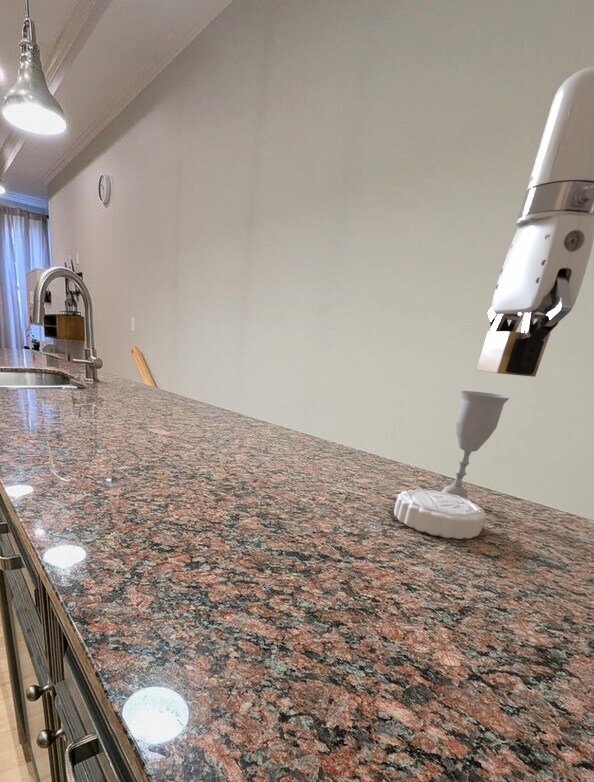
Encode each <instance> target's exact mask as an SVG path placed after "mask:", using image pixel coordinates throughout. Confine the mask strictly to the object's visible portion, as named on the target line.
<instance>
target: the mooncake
mask: <svg viewBox="0 0 594 782" xmlns="http://www.w3.org/2000/svg"><path fill="white" fill-rule="evenodd" d="M393 512H394V513H393V516H394V517H395V518H397V520H398V521H399V522H400V523H403V524H404V526H406V527H409V528H412V529H414V530H416V531H418V532H421V533H426V534H428V535H431V536H437V537H441V538H444V539H455V540H462V539H469V540H470V539H472V538H474V537H476V538H477V537H478V536H479V535H480V533H481V532H482V529H483V526H484V523H485V520H486V517H487V513H486V512H485V509H484V508H482V507H480V506H479V504H477V503H474V502H472V501H471V500H470V499H468V498H467V499H465V498H462V497H460V496H458V495H453V494H448V493H443V492H441V491H439V490H435V489H425V488H418V489H409V490H402V491H401V492H400V493H398V495H397V497H396V501H395V505H394V509H393Z"/></svg>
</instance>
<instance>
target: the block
mask: <svg viewBox="0 0 594 782" xmlns="http://www.w3.org/2000/svg"><path fill="white" fill-rule="evenodd" d="M521 332H522V331H516V332H512V331H490V330H488V331H487V333H486V337H485V340H484V343H483V347H482V350H481V353H480V357H479V360H478V364H477V367H476V371H479V372H486V373H493V374H498V375H499V374H500V375H510V376H522V377H532V378H535V377H536V376H537V373H538V370H539V368H540V365H541V361H542V358H543V356H544V353H545V351H546V348H547V344H548V342H549V339H550V337H549V338H548V340H546V341H544V344H543V347H542V350H541V353H540V356H539V359H538V361H537V364H536V367H535V370H534V373H533V374H531V375H527V374H516V373H508V372H507V371H506V369H507V366H508V363H509V360H510V356H511V353H512V350H513V347H514V344H515V341H516V339H522V338H521Z"/></svg>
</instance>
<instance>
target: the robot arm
mask: <svg viewBox="0 0 594 782" xmlns="http://www.w3.org/2000/svg"><path fill="white" fill-rule="evenodd" d="M515 226H516V228H517V229H516V232H515V234H514V236H513V239H512V242H511V244H510V246H509V249H508V251H507V254H506V256H505V260H504V262H503V265H502V267H501V271H500V273H499V276H498V279H497V282H496V285H495V289H494V292H493V296H492V301H491V305H490V308H489V310H488V311H487V315H488V318H489V326H490V330H489V331H512V332H517V331H518V328H519V326H520V324H521V323H522V325H521V331H520V332H521V338H522V339H516V341H515V344H514V347H513V350H512V353H511V356H510V360H509V363H508V366H507V369H506V371H507V372H508V373H516V374H527V375H531V374H533V373H534V370H535V367H536V364H537V361H538V359H539V356H540V353H541V350H542V347H543V344H544V341H546V340H548V341H549V339H550V336H551V332H552V331H553V329H555V328H556V327H557V326H558V324H559V322H561V321H562V320H563V319H564V318H565V317H567V315H569V314H570V313H571V311H572V309H573V308H574V306H575V304H576V302H577V299H578V296H579V294H580V291H581V288H582V284H583V281H584V278H585V274H586V272H587V271H586V270H587V268H588V264H589V260H590V257H591V253H592V249H593V245H594V65H591V66H588V67H585V68H582V69H579V70H578V71H576V72H574V73H573V74H572V75H570V76H569V77H568V78H566V79H565V80H564V81H563V82H562V83H561V85H560V86H559V88H558V89H557V90H556V93H555V95H554V97H553V99H552V103H551V106H550V110H549V113H548V117H547V120H546V123H545V127H544V129H543V134H542V136H541V140H540V143H539V146H538V150H537V153H536V157H535V161H534V164H533V167H532V171H531V174H530V177H529V181H528V185H527V188H526V191H525V194H524V197H523V199H522V204H521V207H520V211H519V214H518V217H517V220H516V224H515ZM522 320H523V321H522ZM535 320H536V321H535ZM509 321H510V323H509ZM521 321H522V322H521ZM548 338H549V339H548Z"/></svg>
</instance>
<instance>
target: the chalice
mask: <svg viewBox="0 0 594 782" xmlns="http://www.w3.org/2000/svg"><path fill="white" fill-rule="evenodd" d="M460 392H461V398H462V399H461V403H460V407H459V411H458V414H457V417H456V420H455V428H456V430H455V431H456V438H457V442H458V448H459V449H460V450H462V451H463V455H462V457H461V459H460V460H459V461H458V463H459V468H458V469H457V470H456V471H455V472H454V473H455V474H456V475H455V477H456V479H455V480H454V482H452V483H451V484H447V485H445V486H444V487H443V489H442V490H441V491H440V492H443V493H448V494H453V495H458V496H460V497H462V498H465V499H468V498H469V497H468V491H467V490H468V489H467V488H466V487H464V486H463V484H462V481H463V479H464V477H465V476H467V472H466V468H467V467H468V465H470V462H469V461H470V460H469V459H470V456H471V454H472V453H473V452H477V451H478V450H479V449H481V447H483V445H484V444H485V443H486V442H487V441H488V440H489V438H491V436H492V435H493V434H494V432H495V430H496V429H497V427H498V424H499V421H500V418H501V415H502V411H503V409H504V405H505V403H506V402H507V401H508V400H509V399H510V398H511V397H510V396H508V395H503V394H497V393H492V392H483V391H473V390H472V391H471V390H462V391H460Z"/></svg>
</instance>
